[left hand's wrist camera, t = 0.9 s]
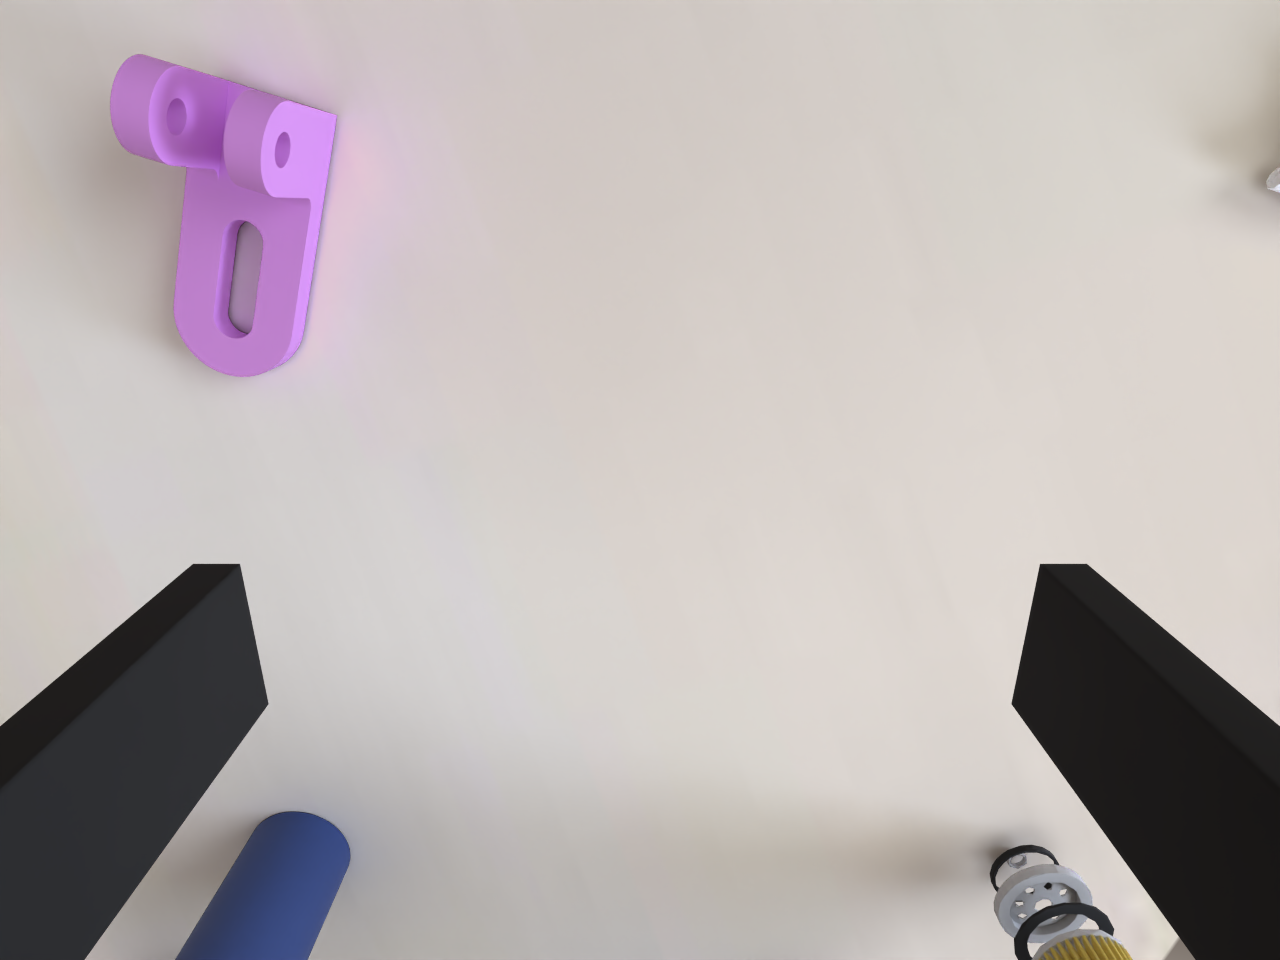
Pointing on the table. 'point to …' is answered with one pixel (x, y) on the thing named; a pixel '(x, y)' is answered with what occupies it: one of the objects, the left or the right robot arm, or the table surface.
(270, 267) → the bracket
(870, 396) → the table surface
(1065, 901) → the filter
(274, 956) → the can
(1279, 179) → the dark grey flat piece
